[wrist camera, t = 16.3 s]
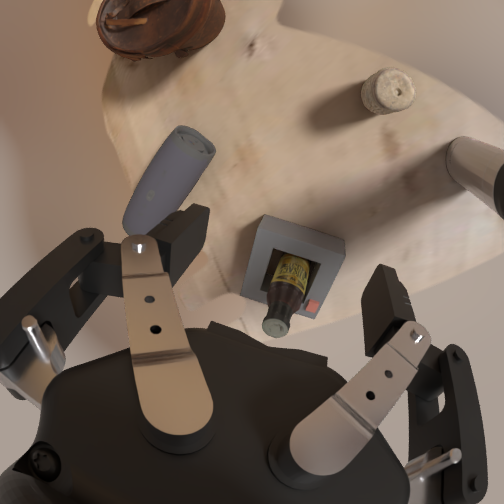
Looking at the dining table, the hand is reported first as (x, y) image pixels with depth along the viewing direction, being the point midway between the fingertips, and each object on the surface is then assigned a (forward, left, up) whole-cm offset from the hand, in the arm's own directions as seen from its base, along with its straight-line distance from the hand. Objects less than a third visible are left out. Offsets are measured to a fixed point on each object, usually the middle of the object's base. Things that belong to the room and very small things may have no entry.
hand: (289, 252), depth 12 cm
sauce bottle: (-3, +24, -38) cm, 45 cm away
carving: (-8, -12, -38) cm, 41 cm away
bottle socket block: (-3, +24, -38) cm, 45 cm away
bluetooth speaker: (+24, +14, -38) cm, 47 cm away
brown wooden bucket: (+27, -18, -38) cm, 50 cm away
